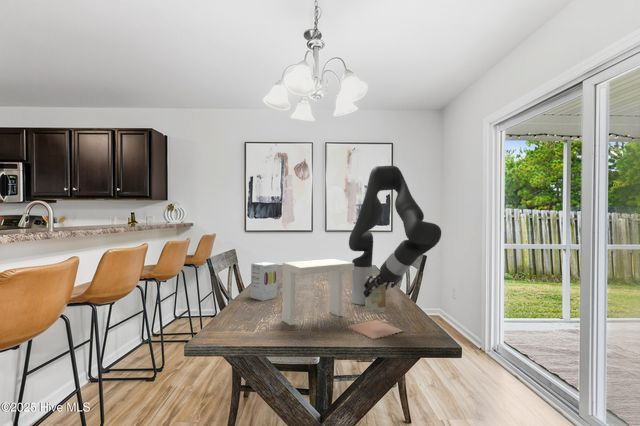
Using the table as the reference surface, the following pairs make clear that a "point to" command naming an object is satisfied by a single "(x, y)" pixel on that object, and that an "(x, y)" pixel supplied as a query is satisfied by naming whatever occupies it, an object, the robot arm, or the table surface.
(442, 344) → the table surface
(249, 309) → the table surface
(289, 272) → the white stool
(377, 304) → the skincare box
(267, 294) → the supplement box
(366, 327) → the terracotta tile
